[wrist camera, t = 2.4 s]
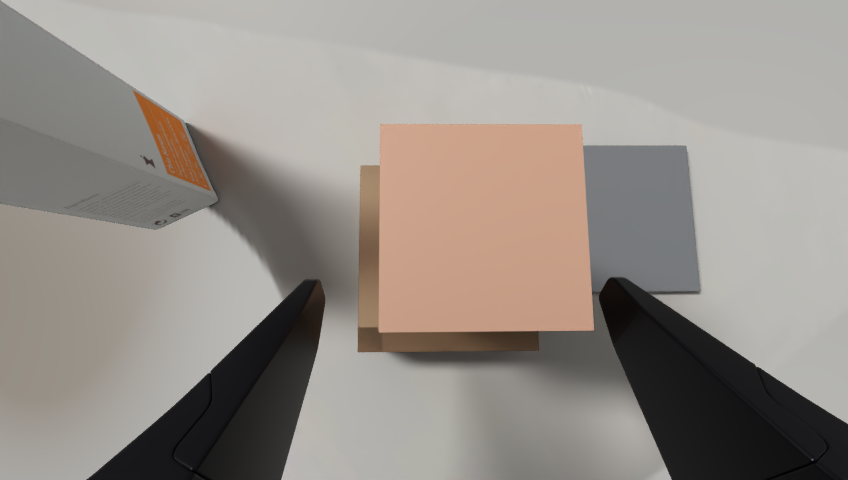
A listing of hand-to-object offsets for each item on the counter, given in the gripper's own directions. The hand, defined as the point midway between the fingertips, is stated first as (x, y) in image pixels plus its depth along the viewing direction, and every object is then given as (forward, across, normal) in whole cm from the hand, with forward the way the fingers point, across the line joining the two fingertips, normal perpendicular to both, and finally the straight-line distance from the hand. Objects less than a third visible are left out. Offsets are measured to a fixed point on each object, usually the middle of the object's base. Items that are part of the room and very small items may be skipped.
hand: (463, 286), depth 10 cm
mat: (+9, -11, +4) cm, 15 cm away
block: (+7, 0, +5) cm, 9 cm away
